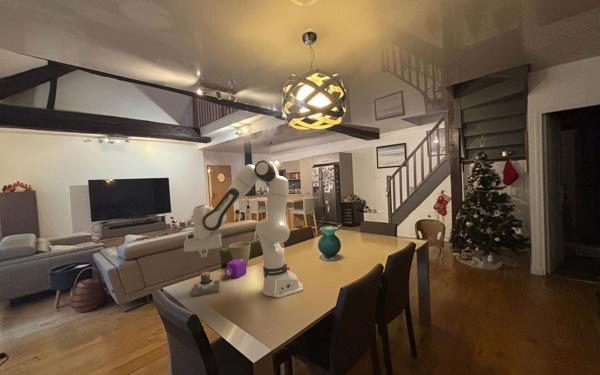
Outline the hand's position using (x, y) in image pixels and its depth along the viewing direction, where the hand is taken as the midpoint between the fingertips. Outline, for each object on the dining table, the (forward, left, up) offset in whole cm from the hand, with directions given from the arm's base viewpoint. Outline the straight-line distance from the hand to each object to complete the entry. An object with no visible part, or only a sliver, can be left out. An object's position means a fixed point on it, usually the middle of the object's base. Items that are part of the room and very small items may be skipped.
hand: (204, 257), depth 140 cm
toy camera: (-17, -13, -19) cm, 29 cm away
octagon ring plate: (0, 0, -19) cm, 19 cm away
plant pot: (-22, -30, -19) cm, 42 cm away
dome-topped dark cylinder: (0, 0, -17) cm, 17 cm away
